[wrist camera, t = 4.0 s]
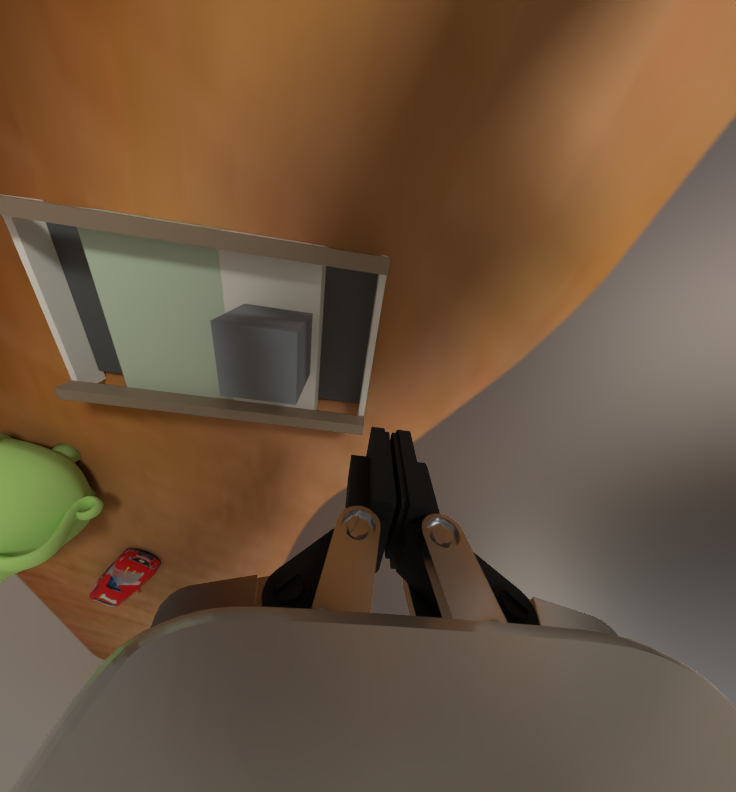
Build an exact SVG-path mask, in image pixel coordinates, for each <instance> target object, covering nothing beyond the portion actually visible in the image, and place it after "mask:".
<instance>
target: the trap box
mask: <svg viewBox="0 0 736 792" xmlns="http://www.w3.org/2000/svg"><path fill="white" fill-rule="evenodd" d="M0 215H3V218H4V220H5V222H6V225H7V227H8V230H9V232H10V234H11V237H12V239H13V241H14V244H15V246H16V249H17V251H18V253H19V256H20V258H21V261H22V263H23V265H24V268H25V270H26V272H27V275H28V277H29V280H30V282H31V284H32V287H33V289H34V291H35V294H36V296H37V299H38V301H39V303H40V306H41V308H42V311H43V313H44V315H45V318H46V320H47V322H48V325H49V327H50V330H51V332H52V334H53V337H54V339H55V341H56V344H57V346H58V349H59V351H60V353H61V356H62V358H63V361H64V363H65V365H66V368H67V370H68V372H69V375H70V377H71V381H69V382H67V383H65V384H62V385H60V386H58V387H56V388H54V389H55V391H56V393H57V396H58V398H59V399H63V400H71V401H80V402H88V403H96V404H105V405H113V406H122V407H130V408H138V409H147V410H155V411H164V412H172V413H180V414H189V415H197V416H206V417H214V418H223V419H231V420H239V421H248V422H256V423H265V424H273V425H281V426H290V427H298V428H307V429H315V430H324V431H332V432H340V433H349V434H357V435H362V432H363V426H364V412H365V406H366V400H367V394H368V387H369V381H370V375H371V369H372V363H373V357H374V350H375V344H376V338H377V332H378V326H379V320H380V313H381V307H382V301H383V295H384V289H385V283H386V276H388V274H389V268H390V262H391V258H390V257H388V256H386V255H381V256H378V255H371V254H365V253H359V252H353V251H347V250H340V249H334V248H328V246H324V245H318V244H312V243H305V242H299V241H293V240H287V239H281V238H274V237H268V236H262V235H256V234H250V233H243V232H237V231H231V230H225V229H219V228H212V227H206V226H200V225H194V224H188V223H181V222H175V221H169V220H163V219H157V218H150V217H144V216H138V215H132V214H125V213H119V212H113V211H107V210H100V209H91V208H83V207H74V206H67V205H61V204H54V203H48V202H44V201H43V200H39V199H31V198H24V197H16V196H8V195H0ZM243 304H251V305H258V306H265V307H271V308H278V309H285V310H292V311H299V312H306V313H313V319H312V341H311V363H310V375H309V377H308V380H307V382H306V384H305V386H304V388H303V391H302V393H301V395H300V397H299V399H298V402H297V404H296V405H292V404H284V403H276V402H268V401H260V400H252V399H244V398H236V397H228V396H220V390H219V382H218V375H217V368H216V360H215V353H214V345H213V338H212V330H211V323H210V320H212V319H214V318H217V317H219V316H221V315H223V314H225V313H227V312H229V311H231V310H233V309H235V308H237V307H239V306H241V305H243ZM104 372H112V373H120V374H123V375H124V378H125V382H126V385H127V387H123V386H115V385H107V384H99V382H101V381H103V380H105V379H106V377H105V374H104ZM318 398H319V399H327V400H335V401H342V402H350V403H358V404H359V407H358V415H350V414H342V413H334V412H326V411H318V410H317V407H318Z"/></svg>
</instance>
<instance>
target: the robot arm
mask: <svg viewBox="0 0 736 792" xmlns="http://www.w3.org/2000/svg"><path fill="white" fill-rule="evenodd" d="M384 549H385V558H387V559H390V567H391V568H392V569H396V572H397V573H398V574H399V575H400V576H401V577H402V578H403V588H404V593H405V597H406V601H407V605H408V610H409V614H410V616H407V615H393V614H379V613H370V609H371V601H372V593H373V585H374V577H375V573H376V572H377V571H378V570H379V567H380V563H381V560H382V557H383V553H384ZM9 792H736V707H735V706H734V704H733V703H731V701H730V700H729V699H728V698H727V697H726V696H725V695H724V694H723V693H722V692H721V691H720V690H719V689H717V688H716V687H715V686H714V685H713V684H712V683H711V682H710V681H708V680H707V679H706V678H704V677H703V676H702V675H701V674H699V673H698V672H696V671H695V670H693V669H691V668H690V667H688V666H686V665H685V664H683V663H681V662H680V661H678V660H676V659H674V658H673V657H671V656H669V655H667V654H664V653H662V652H660V651H658V650H656V649H654V648H652V647H650V646H647V645H644V644H642V643H639V642H636V641H633V640H631V639H627V638H624V637H620V636H618V635H617V634H616V632H615V631H614V630H613V629H612V628H611V627H610V626H609V625H607V624H606V623H605V622H603V621H602V620H600V619H598V618H596V617H594V616H591V615H588V614H585V613H582V612H578V611H576V610H573V609H570V608H567V607H564V606H560V605H557V604H554V603H551V602H548V601H545V600H542V599H539V598H536V597H533V598H532V599H528V598H527V597H526V596H525V595H524V594H523V593H522V592H521V591H520V590H519V589H518V588H517V587H516V586H514V585H513V584H512V583H511V582H509V581H508V580H507V579H506V578H504V577H503V576H502V575H501V574H500V573H498V572H497V571H496V570H495V569H493V568H492V567H491V566H490V565H488V564H487V563H486V562H485V561H483V560H482V559H481V558H480V557H479V556H477V555H476V554H475V553H474V552H473V551H472V549H471V547H470V545H469V542H468V541H467V538H466V537H465V535H464V532H463V530H462V529H461V527H460V526H459V525H458V524H457V523H456V522H455V521H454V520H453V519H451V518H450V517H448V516H445V515H443V514H440V513H439V509H438V505H437V502H436V498H435V494H434V491H433V487H432V483H431V479H430V476H429V472H428V468H427V466H426V464H425V463H419V462H417V459H416V455H415V451H414V446H413V442H412V437H411V433H410V431H402V430H397V431H396V433H392V434H391V439H390V437H389V432H385V429H384V428H377V427H372V428H371V433H370V439H369V444H368V450H367V455H366V457H365V456H356V455H351V461H350V468H349V476H348V485H347V497H346V508H345V509H344V510H343V511H342V512H341V513H340V515H339V517H338V519H337V522H336V526H335V528H334V529H332V530H331V531H330V532H328V533H327V534H325V535H324V536H323V537H321V538H320V539H318V540H317V541H316V542H314V543H313V544H312V545H310V546H309V547H307V548H306V549H305V550H303V551H302V552H301V553H299V554H298V555H296V556H295V557H294V558H292V559H291V560H290V561H288V562H287V563H285V564H284V565H283V566H281V567H280V568H279V569H277V570H276V571H275V572H274V573H273V574H272V575H271V576H266V577H260V578H257V575H253V576H246V577H240V578H234V579H228V580H222V581H215V582H209V583H203V584H197V585H191V586H187V587H184V588H181V589H179V590H177V591H176V592H174V593H173V594H171V595H170V596H169V597H168V598H167V599H166V600H165V601H164V602H163V603H162V604H161V605H160V607H159V609H158V611H157V613H156V615H155V617H154V620H153V623H152V626H151V628H149V629H147V630H145V631H143V632H141V633H139V634H138V635H136V636H134V637H133V638H131V639H129V640H128V641H126V642H125V643H124V644H122V645H121V646H120V647H119V648H118V649H116V650H115V651H114V652H113V653H112V654H111V655H110V656H109V657H108V658H107V659H106V660H105V661H104V662H103V663H102V664H101V665H100V667H99V668H98V669H97V670H96V671H95V672H94V673H93V674H92V676H91V677H90V678H89V679H88V680H87V682H86V683H85V684H84V686H83V687H82V688H81V689H80V691H79V692H78V693H77V695H76V696H75V697H74V698H73V700H72V701H71V702H70V704H69V705H68V707H67V708H66V709H65V711H64V712H63V714H62V715H61V716H60V718H59V719H58V721H57V722H56V723H55V725H54V726H53V728H52V729H51V731H50V732H49V733H48V735H47V736H46V738H45V739H44V740H43V742H42V743H41V745H40V746H39V748H38V749H37V751H36V752H35V753H34V755H33V756H32V758H31V759H30V761H29V762H28V764H27V765H26V766H25V768H24V769H23V771H22V772H21V774H20V776H19V777H18V779H17V780H16V781H15V783H14V784H13V786H12V788H11V789H10V791H9Z"/></svg>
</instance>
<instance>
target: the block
mask: <svg viewBox="0 0 736 792" xmlns="http://www.w3.org/2000/svg"><path fill="white" fill-rule="evenodd" d="M312 319H313V313H306V312H299V311H292V310H285V309H278V308H271V307H265V306H258V305H251V304H243V305H241V306H239V307H237V308H235V309H233V310H231V311H229V312H227V313H225V314H223V315H221V316H219V317H217V318H214V319H212V320H210V323H211V330H212V338H213V345H214V353H215V360H216V368H217V375H218V382H219V390H220V396H228V397H236V398H244V399H252V400H260V401H268V402H276V403H284V404H292V405H296V404H297V402H298V399H299V397H300V395H301V393H302V391H303V388H304V386H305V384H306V382H307V380H308V377H309V375H310V363H311V341H312Z"/></svg>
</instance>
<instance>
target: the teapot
mask: <svg viewBox="0 0 736 792" xmlns="http://www.w3.org/2000/svg"><path fill="white" fill-rule="evenodd" d="M80 458H81V454H80V452H79V451H78V450H77V449H76V448H74V447H73V446H71V445H68V444H63V443H61V444H57V445H56V446H55V447H54V448H53V449H52V450H51V449H49V448H46V447H43V446H40V445H37V444H33V443H30V442H26V441H22V440H17V439H13V438H12V437H10V436H7V435H4V434H0V584H1V583H2V582H3V581H4V580H5V579H6V578H8V577H10V576H12V575H14V574H16V573H18V572H20V571H22V570H26V569H29V568H32V567H35V566H37V565H39V564H41V563H43V562H45V561H46V560H48V559H49V558H50V557H52V556H53V555H54V554H55V553H56V552H57V551H58V550H59V549H60V548H61V547H62V546H63V545H65V544H66V543H67V542H69V541H70V540H71V539H72V538H74V537H75V536H76V535H77V534H79V533H80V532H81V531H82V530H83V529H84V528H85V527H86V525H87V524H88V522H89V521H90V519H92V518H94V517H96V516H97V515H98V514H100V512H101V511H102V509H103V502H102V500H100V499H99V498H97V497H95V491H94V490H93V489H92V488H91V487H90V486H89V483H88V481H87V479H86V478H85V476H84V474H83V472H82V471H81V470H80V468H79V467H78V466H77V465H76V464H75V462H76V461H78V460H79V459H80Z"/></svg>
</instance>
